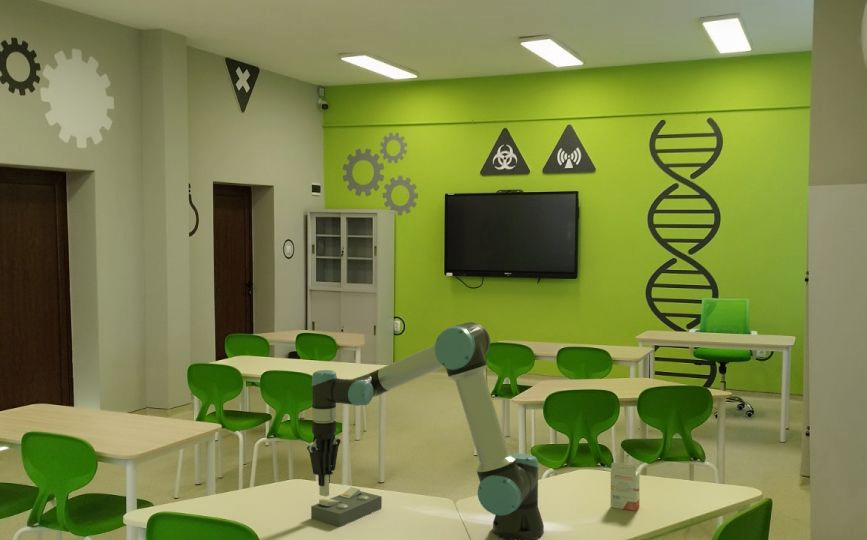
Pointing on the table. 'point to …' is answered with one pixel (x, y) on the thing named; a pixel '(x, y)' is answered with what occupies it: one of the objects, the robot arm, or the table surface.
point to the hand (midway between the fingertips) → (324, 495)
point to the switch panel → (346, 509)
